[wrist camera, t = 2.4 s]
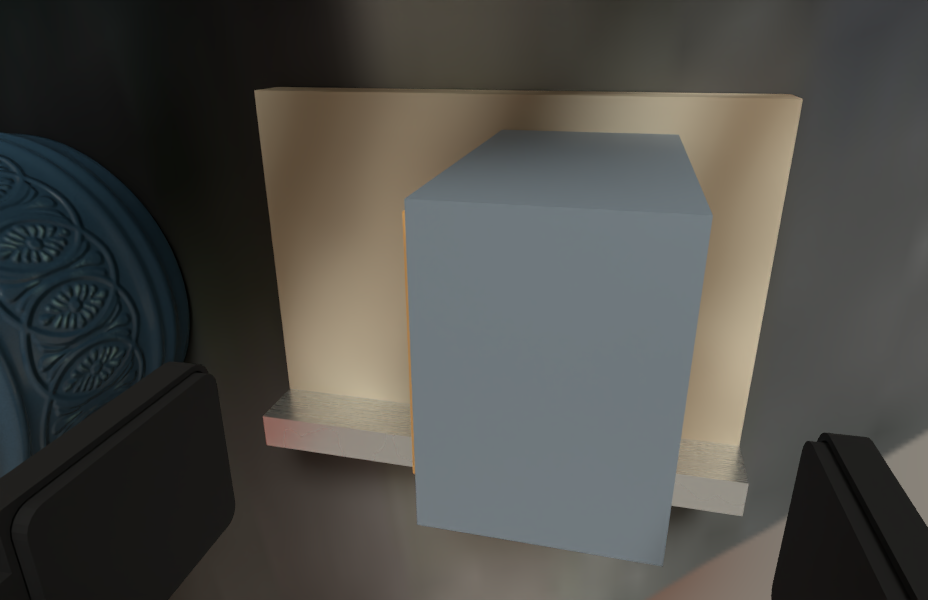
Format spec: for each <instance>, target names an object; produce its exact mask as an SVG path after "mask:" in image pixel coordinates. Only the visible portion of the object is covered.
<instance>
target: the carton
mask: <svg viewBox="0 0 928 600" xmlns="http://www.w3.org/2000/svg"><path fill="white" fill-rule="evenodd" d="M404 205H405V210H404V211H403V212H402V220H403V244H404V269H405V293H406V317H407V341H408V365H409V390H410V414H411V438H412V462H413V474H415V482H416V507H417V525H422V526H428V527H434V528H440V529H446V530H452V531H458V532H464V533H469V534H475V535H481V536H487V537H493V538H499V539H505V540H511V541H516V542H522V543H528V544H534V545H540V546H546V547H552V548H558V549H563V550H569V551H575V552H581V553H587V554H593V555H599V556H605V557H610V558H616V559H622V560H628V561H634V562H640V563H646V564H652V565H658V566H663V561H664V554H665V547H666V540H667V533H668V526H669V519H670V512H671V505H672V498H673V491H674V484H675V477H676V470H677V463H678V456H679V449H680V442H681V435H682V428H683V421H684V414H685V407H686V400H687V393H688V386H689V379H690V372H691V365H692V358H693V351H694V344H695V337H696V330H697V323H698V316H699V309H700V302H701V295H702V288H703V281H704V274H705V267H706V260H707V253H708V246H709V239H710V232H711V225H712V218H713V215H712V212H711V210H710V207H709V205H708V203H707V200H706V198H705V196H704V193H703V191H702V188H701V186H700V184H699V181H698V179H697V177H696V174H695V172H694V169H693V167H692V165H691V162H690V160H689V158H688V155H687V153H686V150H685V148H684V146H683V143H682V141H681V139H680V136H679V135H676V134H640V133H604V132H569V131H533V130H501V131H499V132H498V133H497V134H495V135H494V136H492V137H491V138H490V139H488V140H487V141H485V142H484V143H482V144H481V145H480V146H478V147H477V148H475V149H474V150H473V151H471V152H470V153H468V154H467V155H466V156H464V157H463V158H461V159H460V160H458V161H457V162H456V163H454V164H453V165H451V166H450V167H449V168H447V169H446V170H444V171H443V172H442V173H440V174H439V175H437V176H436V177H434V178H433V179H432V180H430V181H429V182H427V183H426V184H425V185H423V186H422V187H420V188H419V189H418V190H416V191H415V192H413V193H412V194H410V195H409V196H408V197H406V198H405V199H404Z"/></svg>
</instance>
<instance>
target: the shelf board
mask: <svg viewBox="0 0 928 600" xmlns="http://www.w3.org/2000/svg"><path fill="white" fill-rule="evenodd" d="M254 93H255V101H256V110H257V118H258V126H259V135H260V143H261V151H262V160H263V168H264V176H265V184H266V193H267V201H268V209H269V218H270V226H271V234H272V243H273V251H274V259H275V268H276V276H277V284H278V293H279V301H280V309H281V318H282V326H283V334H284V342H285V351H286V359H287V367H288V376H289V384H290V389H289V390H288V391H287V392H286V393H285V394H284V395H283V396H282V397H281V398H280V399H279V400H278V401H277V402H276V403H275V404H274V405H273V406H272V407H271V408H270V409H269V411H268V412H267V413H266V414H265V415H264V416H263V421H264V428H265V435H266V442H267V445H270V446H277V447H283V448H290V449H297V450H303V451H310V452H317V453H323V454H330V455H337V456H343V457H350V458H357V459H364V460H370V461H377V462H384V463H390V464H397V465H404V466H410V467H413V462H412V438H411V414H410V390H409V365H408V341H407V317H406V293H405V269H404V244H403V220H402V212H403V211H404V210H405V205H404V199H405V198H406V197H408V196H409V195H410V194H412V193H413V192H415V191H416V190H418V189H419V188H420V187H422V186H423V185H425V184H426V183H427V182H429V181H430V180H432V179H433V178H434V177H436V176H437V175H439V174H440V173H442V172H443V171H444V170H446V169H447V168H449V167H450V166H451V165H453V164H454V163H456V162H457V161H458V160H460V159H461V158H463V157H464V156H466V155H467V154H468V153H470V152H471V151H473V150H474V149H475V148H477V147H478V146H480V145H481V144H482V143H484V142H485V141H487V140H488V139H490V138H491V137H492V136H494V135H495V134H497V133H498V132H499V131H501V130H533V131H569V132H604V133H640V134H676V135H679V136H680V139H681V141H682V143H683V146H684V148H685V150H686V153H687V155H688V158H689V160H690V162H691V165H692V167H693V169H694V172H695V174H696V177H697V179H698V181H699V184H700V186H701V188H702V191H703V193H704V196H705V198H706V200H707V203H708V205H709V207H710V210H711V212H712V215H713V218H712V225H711V232H710V239H709V246H708V253H707V260H706V267H705V274H704V281H703V288H702V295H701V302H700V309H699V316H698V323H697V330H696V337H695V344H694V351H693V358H692V365H691V372H690V379H689V386H688V393H687V400H686V407H685V414H684V421H683V428H682V435H681V442H680V449H679V456H678V463H677V470H676V477H675V484H674V491H673V498H672V505H671V506H677V507H684V508H691V509H697V510H704V511H711V512H718V513H724V514H731V515H738V516H742V515H743V510H744V505H745V500H746V495H747V490H748V485H749V483H748V479H747V475H746V471H745V467H744V463H743V459H742V455H741V451H740V447H739V444H740V438H741V433H742V427H743V422H744V416H745V411H746V406H747V400H748V395H749V389H750V384H751V378H752V373H753V367H754V362H755V357H756V351H757V346H758V340H759V335H760V329H761V324H762V319H763V313H764V308H765V302H766V297H767V291H768V286H769V280H770V275H771V270H772V264H773V259H774V253H775V248H776V242H777V237H778V231H779V226H780V221H781V215H782V210H783V204H784V199H785V193H786V188H787V183H788V177H789V172H790V166H791V161H792V155H793V150H794V144H795V139H796V134H797V128H798V123H799V117H800V112H801V106H802V101H803V99H802V98H799V97H797V96H794V95H791V94H740V93H670V92H599V91H529V90H459V89H389V88H319V87H274V88H267V89H260V90H254Z"/></svg>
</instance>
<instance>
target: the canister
mask: <svg viewBox="0 0 928 600" xmlns="http://www.w3.org/2000/svg"><path fill="white" fill-rule="evenodd" d="M189 331H190V317H189V306H188V299H187V294H186V289H185V285H184V281H183V278H182V275H181V272H180V269H179V266H178V263H177V261H176V259H175V256H174V254H173V252H172V250H171V248H170V246H169V244H168V242H167V240H166V238H165V236H164V235H163V233H162V231H161V230H160V228H159V226H158V225H157V223H156V222H155V220H154V219H153V217H152V216H151V215H150V213H149V212H148V211H147V209H146V208H145V207H144V205H143V204H142V203H141V202H140V201H139V200H138V198H137V197H136V196H135V195H134V194H133V193H132V192H131V191H130V190H129V189H128V188H127V187H126V186H125V185H124V184H123V183H122V182H121V181H120V180H119V179H118V178H117V177H115V176H114V175H113V174H112V173H111V172H109V171H108V170H107V169H106V168H104V167H103V166H101V165H100V164H99V163H97V162H96V161H94V160H93V159H91V158H90V157H88V156H86V155H85V154H83V153H81V152H79V151H77V150H75V149H73V148H71V147H69V146H67V145H64V144H62V143H59V142H57V141H54V140H51V139H47V138H43V137H39V136H34V135H27V134H7V133H2V132H0V478H1V477H3V476H4V475H5V474H7V473H8V472H10V471H11V470H13V469H14V468H15V467H17V466H18V465H20V464H21V463H23V462H24V461H25V460H27V459H28V458H30V457H31V456H33V455H34V454H36V453H37V452H38V451H40V450H41V449H43V448H44V447H46V446H47V445H48V444H50V443H51V442H53V441H54V440H56V439H57V438H58V437H60V436H61V435H63V434H64V433H66V432H67V431H68V430H70V429H71V428H73V427H74V426H76V425H77V424H79V423H80V422H81V421H83V420H84V419H86V418H87V417H89V416H90V415H91V414H93V413H94V412H96V411H97V410H99V409H100V408H101V407H103V406H104V405H106V404H107V403H109V402H110V401H111V400H113V399H114V398H116V397H117V396H119V395H120V394H121V393H123V392H124V391H126V390H127V389H129V388H130V387H132V386H133V385H134V384H136V383H137V382H139V381H140V380H142V379H143V378H144V377H146V376H147V375H149V374H150V373H152V372H153V371H154V370H156V369H157V368H159V367H160V366H162V365H163V364H165V363H167V362H181V363H183V361H184V359H185V355H186V352H187V347H188V341H189Z"/></svg>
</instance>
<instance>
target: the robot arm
mask: <svg viewBox="0 0 928 600" xmlns="http://www.w3.org/2000/svg"><path fill="white" fill-rule="evenodd" d="M234 511H235V498H234V492H233V486H232V479H231V473H230V467H229V460H228V454H227V447H226V441H225V435H224V428H223V422H222V416H221V409H220V403H219V396H218V390H217V384H216V380H215V378H214V377H213V376H212V375H211V374H209V373H208V371H207V369H206V368H205V367H204V366H202V365H199V364H190V363H181V362H167V363H165V364H163V365H162V366H160V367H159V368H157V369H156V370H154V371H153V372H152V373H150V374H149V375H147V376H146V377H144V378H143V379H142V380H140V381H139V382H137V383H136V384H134V385H133V386H132V387H130V388H129V389H127V390H126V391H124V392H123V393H121V394H120V395H119V396H117V397H116V398H114V399H113V400H111V401H110V402H109V403H107V404H106V405H104V406H103V407H101V408H100V409H99V410H97V411H96V412H94V413H93V414H91V415H90V416H89V417H87V418H86V419H84V420H83V421H81V422H80V423H79V424H77V425H76V426H74V427H73V428H71V429H70V430H68V431H67V432H66V433H64V434H63V435H61V436H60V437H58V438H57V439H56V440H54V441H53V442H51V443H50V444H48V445H47V446H46V447H44V448H43V449H41V450H40V451H38V452H37V453H36V454H34V455H33V456H31V457H30V458H28V459H27V460H25V461H24V462H23V463H21V464H20V465H18V466H17V467H15V468H14V469H13V470H11V471H10V472H8V473H7V474H5V475H4V476H3V477H1V478H0V600H168V599H169V598H170V597H171V595H172V594H173V593H174V592H175V591H176V589H177V588H178V587H179V586H180V584H181V583H182V582H183V581H184V579H185V578H186V577H187V576H188V575H189V573H190V572H191V571H192V570H193V568H194V567H195V566H196V565H197V564H198V562H199V561H200V560H201V559H202V557H203V556H204V555H205V554H206V552H207V551H208V550H209V549H210V548H211V546H212V545H213V544H214V543H215V541H216V540H217V539H218V538H219V537H220V535H221V534H222V533H223V532H224V530H225V529H226V528H227V527H228V525H229V524H230V522H231V520H232V518H233V515H234ZM771 597H772V600H928V527H927V526H926V524H925V522H924V521H923V519H922V518H921V516H920V515H919V513H918V512H917V510H916V508H915V507H914V505H913V504H912V502H911V501H910V499H909V498H908V496H907V494H906V493H905V491H904V490H903V488H902V487H901V485H900V484H899V482H898V480H897V479H896V477H895V476H894V474H893V473H892V471H891V470H890V468H889V467H888V465H887V463H886V462H885V460H884V459H883V457H882V456H881V454H880V452H879V451H878V449H877V448H876V446H875V445H874V443H873V442H872V441H871V440H870V438H867V437H860V436H851V435H842V434H833V433H822V434H821V435H820V437H819V438H818V441H817V442H813V441H807V442H806V443H805V444H804V446H803V450H802V454H801V458H800V463H799V467H798V472H797V476H796V481H795V485H794V490H793V494H792V499H791V503H790V508H789V512H788V517H787V522H786V526H785V531H784V535H783V540H782V544H781V549H780V554H779V558H778V562H777V567H776V571H775V576H774V580H773V585H772V595H771Z"/></svg>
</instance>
